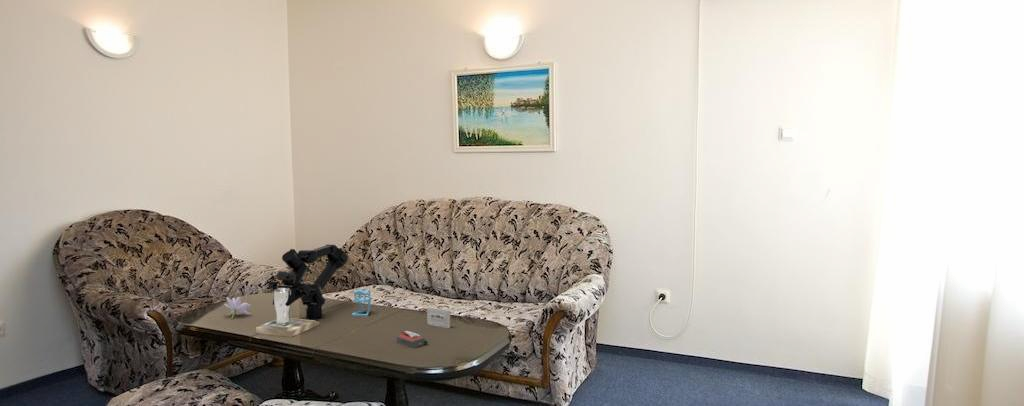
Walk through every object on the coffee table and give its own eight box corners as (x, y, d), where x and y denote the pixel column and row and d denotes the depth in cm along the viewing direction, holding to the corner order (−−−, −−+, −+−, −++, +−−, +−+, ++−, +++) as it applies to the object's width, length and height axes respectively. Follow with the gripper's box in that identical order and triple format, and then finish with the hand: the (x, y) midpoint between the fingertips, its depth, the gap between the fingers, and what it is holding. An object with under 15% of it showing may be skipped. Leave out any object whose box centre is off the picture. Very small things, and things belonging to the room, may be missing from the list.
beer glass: (279, 327, 249) (278, 293, 247) (271, 323, 254) (270, 289, 252) (294, 323, 254) (294, 290, 252) (287, 319, 259) (286, 286, 257)
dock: (286, 321, 268) (285, 313, 267) (319, 324, 262) (319, 316, 262) (256, 333, 250) (255, 324, 250) (291, 337, 244) (290, 328, 244)
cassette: (451, 327, 255) (450, 310, 255) (448, 328, 254) (448, 311, 253) (429, 323, 261) (428, 306, 261) (426, 324, 260) (426, 307, 259)
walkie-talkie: (432, 344, 234) (403, 333, 248) (432, 333, 233) (403, 323, 248) (414, 350, 228) (385, 338, 242) (413, 338, 227) (385, 328, 241)
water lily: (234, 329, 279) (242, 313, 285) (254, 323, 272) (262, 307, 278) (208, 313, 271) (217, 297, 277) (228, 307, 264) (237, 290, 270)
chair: (374, 311, 282) (373, 287, 281) (367, 316, 274) (366, 291, 273) (359, 311, 283) (358, 286, 282) (351, 315, 275) (350, 290, 274)
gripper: (269, 262, 258) (252, 293, 248) (305, 265, 252) (288, 296, 242) (283, 277, 266) (266, 307, 256) (317, 279, 260) (301, 310, 250)
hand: (280, 305), depth 251 cm, fingers closed on beer glass, 6 cm apart
